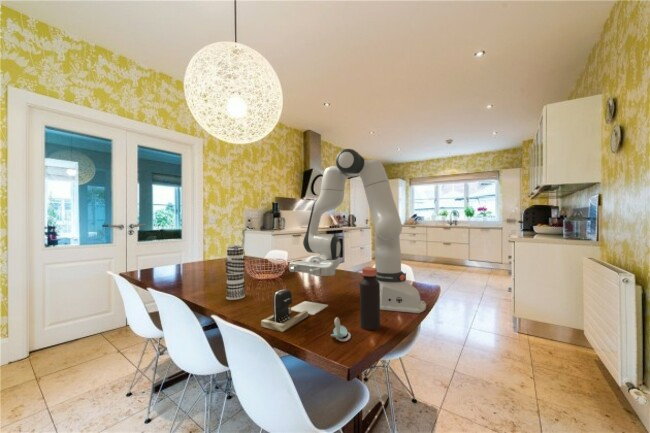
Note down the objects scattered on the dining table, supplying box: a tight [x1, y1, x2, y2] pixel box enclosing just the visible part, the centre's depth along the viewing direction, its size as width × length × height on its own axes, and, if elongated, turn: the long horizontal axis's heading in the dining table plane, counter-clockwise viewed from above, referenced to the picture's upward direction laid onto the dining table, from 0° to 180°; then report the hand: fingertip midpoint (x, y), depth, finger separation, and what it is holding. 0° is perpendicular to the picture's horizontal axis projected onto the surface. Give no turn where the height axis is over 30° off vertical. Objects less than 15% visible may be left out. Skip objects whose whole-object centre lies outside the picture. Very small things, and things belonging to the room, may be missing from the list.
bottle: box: [359, 266, 381, 331], centre depth 90 cm, size 7×7×20 cm
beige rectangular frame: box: [260, 307, 309, 333], centre depth 95 cm, size 9×16×2 cm, turn 151°
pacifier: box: [330, 316, 352, 342], centre depth 82 cm, size 7×6×6 cm
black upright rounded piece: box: [272, 288, 293, 323], centre depth 94 cm, size 7×4×11 cm, turn 150°
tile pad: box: [290, 300, 329, 316], centre depth 109 cm, size 12×12×1 cm
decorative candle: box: [224, 244, 246, 301], centre depth 126 cm, size 9×9×25 cm
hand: (300, 271), depth 105 cm, fingers open, 8 cm apart
